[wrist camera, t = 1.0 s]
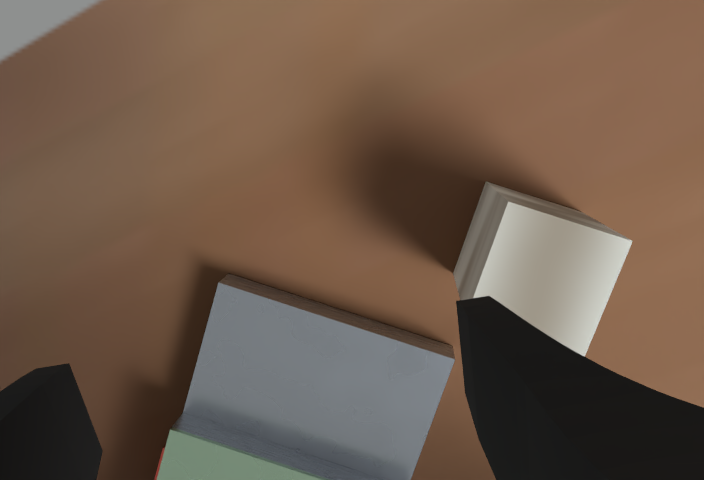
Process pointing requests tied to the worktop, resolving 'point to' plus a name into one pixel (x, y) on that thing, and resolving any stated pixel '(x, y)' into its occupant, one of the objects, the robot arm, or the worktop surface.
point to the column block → (541, 263)
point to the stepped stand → (303, 393)
